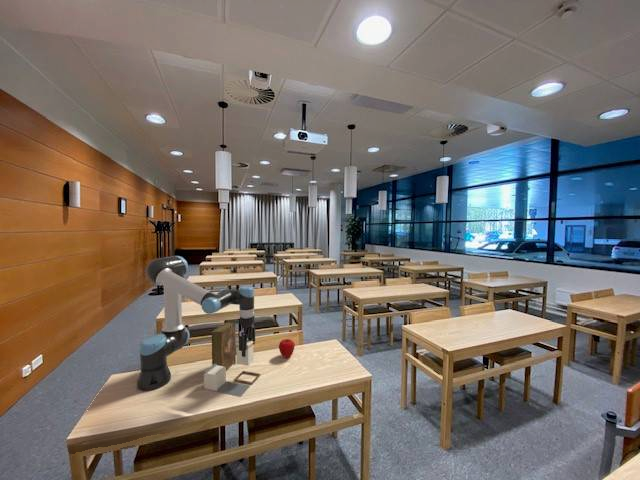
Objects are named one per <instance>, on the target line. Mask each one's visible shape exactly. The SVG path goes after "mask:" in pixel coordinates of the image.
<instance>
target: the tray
mask: <svg viewBox="0 0 640 480" xmlns="http://www.w3.org/2000/svg"><path fill="white" fill-rule="evenodd" d="M243 374H247V375H252V376H256V377H255V378H254V379H253V380H252V381H248V380H245V379H244V380H243V379H239V378H240V377H241V376H242V375H243ZM260 377H261V373H258V372H252V371H248V370H242V371H241V372H240V373H239V374H238V375H237V376H236V377H235V378H233V381H234V382H235V383H237V382H238V383H240V384H245V385H247V384H248V385H253V384H254V383H255V382H256V381H257V380H258V379H259V378H260Z"/></svg>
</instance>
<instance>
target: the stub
mask: <svg viewBox="0 0 640 480" xmlns="http://www.w3.org/2000/svg"><path fill="white" fill-rule="evenodd" d="M235 343H236V365H242V366H250V365H251V364H252V363H253V362H254V344H253V341H249V340H248V339H247V347H246V350H247V363H246V362H242V351H239V341H237V342H235Z"/></svg>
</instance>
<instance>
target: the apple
mask: <svg viewBox="0 0 640 480" xmlns="http://www.w3.org/2000/svg"><path fill="white" fill-rule="evenodd" d="M295 346H296V345H295V342H294V340H292V339H290V338H286V339H281V341H280V342H279V345H278V349H279V352H280V355H281V356H283V357H284V358H289V357H291V356H292V355H293V353H294V350H295Z"/></svg>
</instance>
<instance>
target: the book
mask: <svg viewBox="0 0 640 480" xmlns="http://www.w3.org/2000/svg"><path fill="white" fill-rule="evenodd" d="M236 343H237V342H236V322H235V321H231V320H229V321H226V322H225V323H223V324H221V325H220V326H218V327H217V328H215V329H214V330H212V331H211V366H212V365H213V364H217V365H218V366H224V367H226V372H227V371H228V370H229V369H230V368H231V367H232V366H233V365H234V366H235V365H237V357H236Z"/></svg>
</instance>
